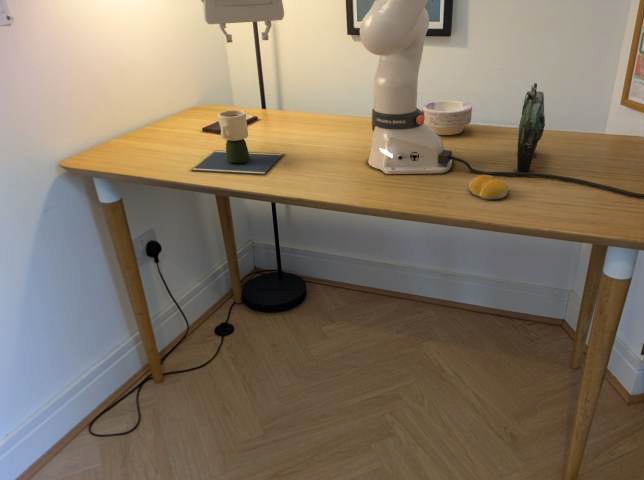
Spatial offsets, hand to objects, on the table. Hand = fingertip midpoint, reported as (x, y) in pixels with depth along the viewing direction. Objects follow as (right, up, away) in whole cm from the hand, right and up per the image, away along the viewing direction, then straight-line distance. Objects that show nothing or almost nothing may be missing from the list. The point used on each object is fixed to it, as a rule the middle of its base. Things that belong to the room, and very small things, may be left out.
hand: (247, 41), depth 147 cm
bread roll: (+60, -42, -14) cm, 75 cm away
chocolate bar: (-13, -12, +37) cm, 41 cm away
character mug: (-4, -30, +6) cm, 31 cm away
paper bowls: (+56, -16, +28) cm, 65 cm away
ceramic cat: (+74, -31, +3) cm, 81 cm away
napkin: (-4, -31, +6) cm, 31 cm away
